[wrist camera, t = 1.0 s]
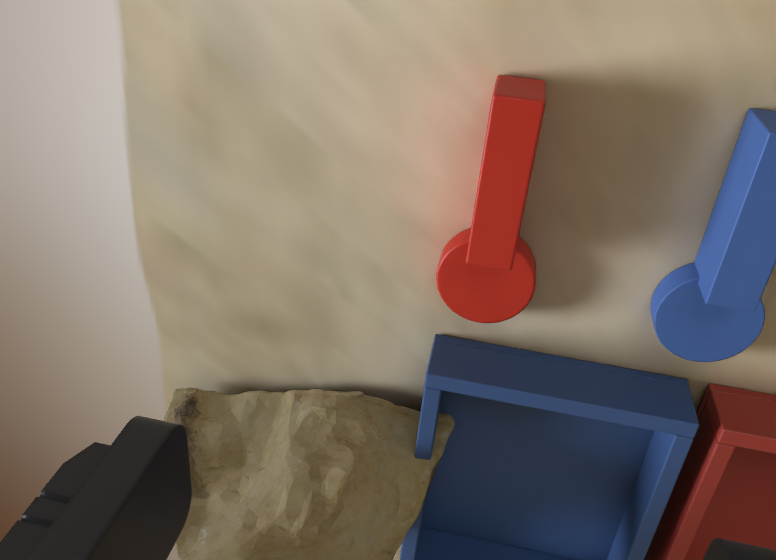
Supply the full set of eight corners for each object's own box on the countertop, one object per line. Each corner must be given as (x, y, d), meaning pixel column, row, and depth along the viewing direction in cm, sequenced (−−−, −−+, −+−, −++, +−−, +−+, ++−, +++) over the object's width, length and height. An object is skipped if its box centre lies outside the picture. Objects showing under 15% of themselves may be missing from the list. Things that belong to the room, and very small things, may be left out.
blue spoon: (714, 103, 20) (732, 127, 18) (835, 118, 20) (866, 145, 18) (639, 335, 24) (646, 375, 22) (737, 352, 24) (753, 394, 22)
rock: (104, 485, 29) (297, 632, 29) (12, 547, 21) (285, 753, 21) (269, 277, 30) (454, 419, 31) (248, 254, 22) (503, 452, 22)
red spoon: (466, 69, 21) (458, 89, 19) (577, 84, 20) (580, 106, 19) (434, 299, 25) (425, 334, 23) (526, 315, 25) (524, 353, 23)
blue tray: (435, 333, 26) (425, 373, 24) (687, 378, 25) (700, 425, 23) (407, 525, 31) (397, 571, 29) (614, 569, 30) (619, 621, 28)
